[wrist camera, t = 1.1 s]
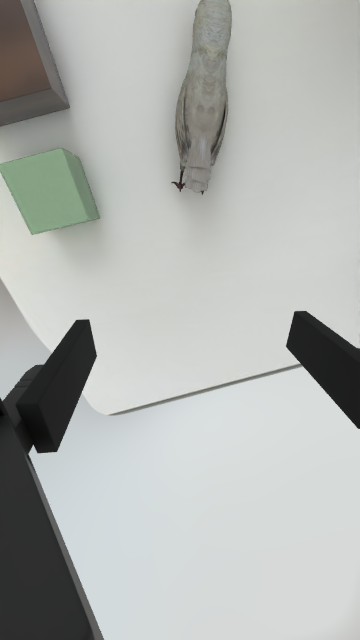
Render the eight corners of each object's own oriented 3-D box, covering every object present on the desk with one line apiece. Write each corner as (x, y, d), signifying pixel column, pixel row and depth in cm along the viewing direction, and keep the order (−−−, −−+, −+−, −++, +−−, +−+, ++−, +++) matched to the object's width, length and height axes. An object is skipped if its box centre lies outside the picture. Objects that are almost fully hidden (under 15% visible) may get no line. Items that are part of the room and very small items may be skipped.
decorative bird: (234, 24, 24) (262, -43, 17) (208, 197, 31) (221, 195, 25) (183, 12, 23) (192, -62, 17) (168, 191, 30) (171, 188, 24)
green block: (24, 171, 28) (-4, 164, 23) (78, 157, 28) (61, 147, 23) (51, 230, 31) (31, 234, 27) (100, 217, 31) (89, 220, 26)
